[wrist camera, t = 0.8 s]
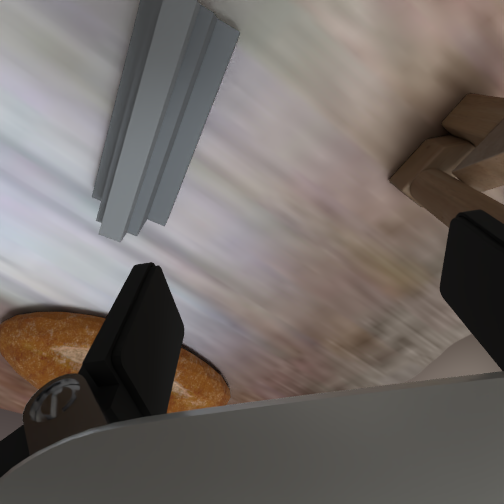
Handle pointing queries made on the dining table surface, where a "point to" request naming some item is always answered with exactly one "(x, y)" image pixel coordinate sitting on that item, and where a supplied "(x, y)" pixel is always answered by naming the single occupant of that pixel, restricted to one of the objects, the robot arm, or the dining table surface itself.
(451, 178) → the wooden block
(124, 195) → the ridge block
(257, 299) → the dining table surface
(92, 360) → the robot arm
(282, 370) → the dining table surface
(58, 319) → the bread
